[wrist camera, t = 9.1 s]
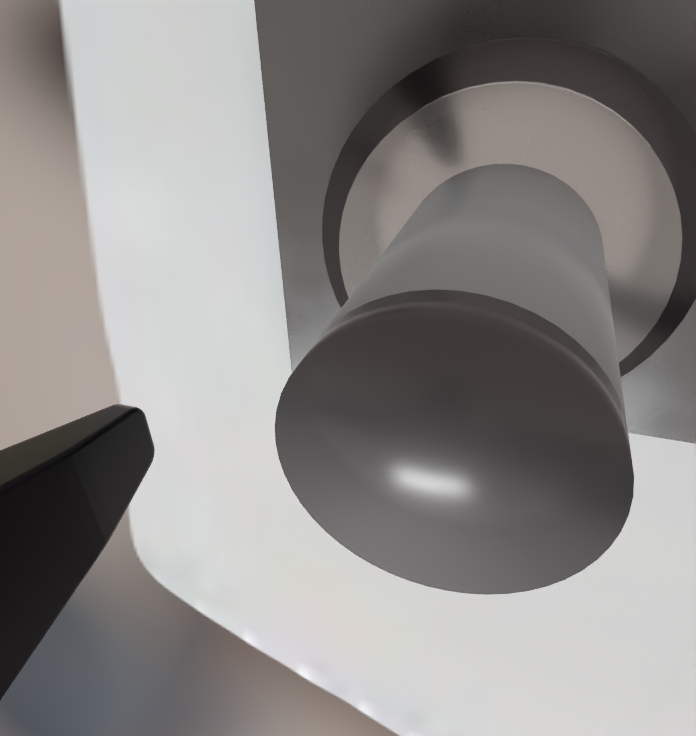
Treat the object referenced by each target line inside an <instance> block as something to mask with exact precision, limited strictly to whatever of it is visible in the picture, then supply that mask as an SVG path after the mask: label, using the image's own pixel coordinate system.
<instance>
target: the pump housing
mask: <svg viewBox="0 0 696 736" xmlns="http://www.w3.org/2000/svg"><path fill="white" fill-rule="evenodd" d="M275 437H276V446H277V451H278V456H279V460H280V463H281V465H282V468H283V471H284V474H285V476H286V478H287V480H288V482H289V484H290V486H291V488H292V490H293V492H294V493H295V495H296V496H297V498H298V499H299V501H300V503H301V504H302V505H303V507H304V508H305V509H306V510H307V512H308V513H309V514H310V515H311V517H312V518H313V519H314V520H315V521H316V522H317V523H318V524H319V525H320V526H321V527H322V528H323V529H324V530H325V531H326V532H327V533H328V534H329V535H331V536H332V537H333V538H334V539H335V540H337V541H338V542H339V543H340V544H341V545H343V546H344V547H346V548H347V549H349V550H350V551H351V552H353V553H354V554H356V555H357V556H359V557H361V558H362V559H364V560H366V561H367V562H369V563H371V564H372V565H374V566H377V567H379V568H381V569H383V570H385V571H387V572H389V573H391V574H394V575H396V576H399V577H401V578H404V579H406V580H409V581H412V582H415V583H419V584H422V585H425V586H429V587H433V588H438V589H442V590H447V591H454V592H461V593H470V594H508V593H516V592H523V591H529V590H533V589H537V588H541V587H546V586H549V585H551V584H554V583H557V582H559V581H562V580H565V579H567V578H569V577H570V576H572V575H574V574H576V573H578V572H580V571H582V570H583V569H585V568H586V567H587V566H589V565H590V564H592V563H593V562H594V561H596V560H597V559H598V558H599V557H600V556H601V555H602V554H603V553H604V552H605V551H606V550H607V549H608V548H609V547H610V546H611V545H612V543H613V542H614V540H615V539H616V538H617V536H618V535H619V533H620V532H621V530H622V528H623V526H624V524H625V521H626V519H627V517H628V515H629V511H630V507H631V503H632V499H633V485H634V474H633V467H632V459H631V451H630V444H629V436H628V429H627V421H626V414H625V406H624V399H623V391H622V384H621V376H620V369H619V361H618V354H617V346H616V339H615V331H614V324H613V316H612V309H611V301H610V294H609V286H608V279H607V271H606V264H605V256H604V249H603V242H602V236H601V233H600V229H599V226H598V223H597V221H596V219H595V217H594V215H593V213H592V211H591V210H590V208H589V207H588V205H587V204H586V202H585V201H584V200H583V199H582V198H581V197H580V196H579V195H578V193H577V192H576V191H575V190H574V189H572V188H571V187H570V186H568V185H567V184H566V183H565V182H563V181H562V180H560V179H558V178H556V177H555V176H553V175H551V174H549V173H546V172H544V171H542V170H539V169H536V168H532V167H528V166H524V165H516V164H492V165H485V166H479V167H476V168H473V169H469V170H466V171H464V172H461V173H459V174H457V175H455V176H453V177H451V178H449V179H448V180H446V181H444V182H443V183H441V184H440V185H439V186H438V187H436V188H435V189H434V190H433V191H432V192H431V193H430V194H429V195H428V196H427V197H426V198H425V199H424V200H423V201H422V202H421V204H420V205H419V206H418V208H417V209H416V210H415V212H414V213H413V214H412V216H411V217H410V218H409V219H408V221H407V222H406V223H405V225H404V226H403V227H402V229H401V230H400V231H399V233H398V234H397V235H396V237H395V238H394V239H393V241H392V242H391V243H390V245H389V246H388V247H387V249H386V250H385V251H384V252H383V254H382V255H381V256H380V258H379V259H378V260H377V262H376V263H375V264H374V266H373V267H372V268H371V270H370V271H369V272H368V274H367V275H366V276H365V278H364V279H363V280H362V282H361V283H360V284H359V286H358V287H357V288H356V289H355V291H354V292H353V293H352V295H351V296H350V297H349V299H348V300H347V301H346V303H345V304H344V305H343V307H342V308H341V309H340V311H339V312H338V313H337V315H336V316H335V317H334V319H333V320H332V321H331V323H330V324H329V325H328V326H327V328H326V329H325V330H324V332H323V333H322V334H321V336H320V337H319V338H318V340H317V341H316V342H315V344H314V345H313V346H312V348H311V349H310V350H309V352H308V353H307V354H306V356H305V357H304V358H303V360H302V361H301V362H300V363H299V365H298V366H297V368H296V369H295V370H294V372H293V373H292V374H291V376H290V377H289V379H288V381H287V383H286V385H285V387H284V389H283V391H282V393H281V396H280V400H279V403H278V407H277V412H276V421H275Z"/></svg>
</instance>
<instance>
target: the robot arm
mask: <svg viewBox="0 0 696 736" xmlns="http://www.w3.org/2000/svg"><path fill="white" fill-rule="evenodd" d="M153 457H154V444H153V441H152V437H151V434H150V430H149V427H148V423H147V420H146V417H145V414H144V412H143V411H142V410H141V409H139V408H137V407H132V406H127V405H121V404H117V405H112V406H110V407H108V408H105V409H102V410H100V411H97V412H95V413H93V414H90V415H87V416H85V417H82V418H80V419H78V420H75V421H73V422H70V423H68V424H65V425H63V426H60V427H58V428H55V429H53V430H50V431H48V432H45V433H43V434H40V435H38V436H35V437H33V438H30V439H28V440H25V441H23V442H20V443H18V444H15V445H13V446H11V447H8V448H5V449H3V450H0V701H1V699H2V698H3V696H4V695H5V693H6V692H7V690H8V689H9V688H10V686H11V684H12V683H13V682H14V680H15V679H16V677H17V676H18V674H19V673H20V671H21V670H22V668H23V667H24V665H25V664H26V663H27V661H28V659H29V658H30V657H31V655H32V654H33V652H34V651H35V649H36V648H37V646H38V645H39V643H40V642H41V641H42V639H43V638H44V636H45V635H46V633H47V632H48V630H49V629H50V627H51V626H52V624H53V623H54V621H55V620H56V618H57V617H58V616H59V614H60V612H61V611H62V609H63V608H64V607H65V605H66V604H67V602H68V601H69V599H70V598H71V596H72V595H73V594H74V592H75V590H76V589H77V588H78V586H79V585H80V583H81V582H82V580H83V579H84V577H85V576H86V574H87V573H88V572H89V570H90V568H91V567H92V566H93V564H94V563H95V561H96V560H97V558H98V557H99V555H100V554H101V552H102V551H103V549H104V547H105V546H106V544H107V543H108V541H109V539H110V538H111V536H112V534H113V532H114V531H115V529H116V527H117V525H118V523H119V522H120V520H121V518H122V516H123V514H124V513H125V511H126V509H127V507H128V505H129V503H130V502H131V500H132V498H133V496H134V494H135V492H136V491H137V489H138V487H139V485H140V483H141V482H142V480H143V478H144V476H145V474H146V472H147V471H148V469H149V467H150V465H151V463H152V461H153Z"/></svg>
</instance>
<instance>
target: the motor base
mask: <svg viewBox="0 0 696 736" xmlns="http://www.w3.org/2000/svg"><path fill="white" fill-rule="evenodd" d="M254 1H255V11H256V21H257V31H258V41H259V51H260V61H261V71H262V81H263V90H264V100H265V110H266V120H267V130H268V140H269V150H270V160H271V170H272V180H273V190H274V199H275V209H276V219H277V229H278V239H279V249H280V259H281V269H282V279H283V289H284V299H285V309H286V318H287V328H288V338H289V348H290V358H291V368H292V373H293V372H294V370H295V369H296V368H297V366H298V365H299V363H300V362H301V361H302V360H303V358H304V357H305V356H306V354H307V353H308V352H309V350H310V349H311V348H312V346H313V345H314V344H315V342H316V341H317V340H318V338H319V337H320V336H321V334H322V333H323V332H324V330H325V329H326V328H327V326H328V325H329V324H330V323H331V321H332V320H333V319H334V317H335V316H336V315H337V313H338V312H339V311H340V309H341V308H342V307H343V305H344V304H345V303H346V301H347V300H348V299H349V297H350V296H351V295H352V293H353V292H354V291H355V289H356V288H357V287H358V286H359V284H360V283H361V282H362V280H363V279H364V278H365V276H366V275H367V274H368V272H369V271H370V270H371V268H372V267H373V266H374V264H375V263H376V262H377V260H378V259H379V258H380V256H381V255H382V254H383V252H384V251H385V250H386V249H387V247H388V246H389V245H390V243H391V242H392V241H393V239H394V238H395V237H396V235H397V234H398V233H399V231H400V230H401V229H402V227H403V226H404V225H405V223H406V222H407V221H408V219H409V218H410V217H411V216H412V214H413V213H414V212H415V210H416V209H417V208H418V206H419V205H420V204H421V202H422V201H423V200H424V199H425V198H426V197H427V196H428V195H429V194H430V193H431V192H432V191H433V190H434V189H435V188H436V187H438V186H439V185H440V184H441V183H443V182H444V181H446V180H448V179H449V178H451V177H453V176H455V175H457V174H459V173H461V172H464V171H466V170H469V169H473V168H476V167H479V166H485V165H492V164H516V165H524V166H528V167H532V168H536V169H539V170H542V171H544V172H546V173H549V174H551V175H553V176H555V177H556V178H558V179H560V180H562V181H563V182H565V183H566V184H567V185H568V186H570V187H571V188H572V189H574V190H575V191H576V192H577V193H578V195H579V196H580V197H581V198H582V199H583V200H584V201H585V202H586V204H587V205H588V207H589V208H590V210H591V211H592V213H593V215H594V217H595V219H596V221H597V223H598V226H599V229H600V233H601V236H602V242H603V249H604V256H605V264H606V271H607V279H608V286H609V294H610V301H611V309H612V316H613V324H614V331H615V339H616V346H617V354H618V361H619V369H620V376H621V384H622V391H623V399H624V406H625V414H626V421H627V429H628V433H634V434H640V435H647V436H653V437H659V438H665V439H671V440H677V441H684V442H690V443H696V0H254Z"/></svg>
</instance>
